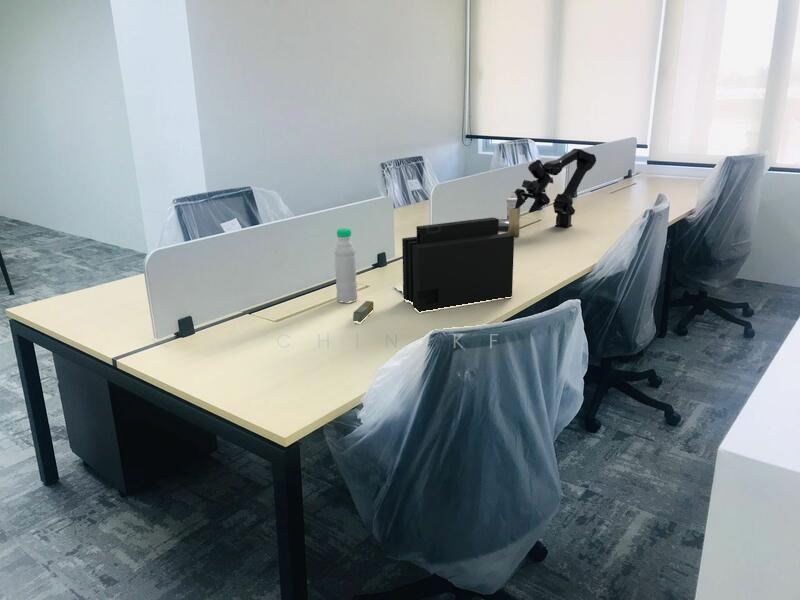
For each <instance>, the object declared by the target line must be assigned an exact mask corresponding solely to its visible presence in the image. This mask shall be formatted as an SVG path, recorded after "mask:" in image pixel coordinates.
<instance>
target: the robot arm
mask: <svg viewBox="0 0 800 600" xmlns="http://www.w3.org/2000/svg"><path fill="white" fill-rule="evenodd" d="M574 161H576V169H575V170H574V172H573V174H572V176H571V178H570V180H569V182H568V183H567V185H566V187H565V188H564V191H563V192H562V193H557V194H556V196H555V199H554V200H553V204H552V206H553V211H554V213H555V214H556V217H555V224H554V227H558V228H565V229H567V228H569V227H572V226H573V224H572V216H574V215H575V213H576V209H575V208H574V207H573V204H574V199H573V198H574V196H575V193H576V192H577V190H578V189H579V186H580V184H581V182H582V180H583V179H584V177H585V175H586V173H587V172H588V171H590V170H591V169H592V168H593V167H595V164H596V162H597V157H596V155H595V154H593V153H590V152H587V151H585V150H583V149H582V148H573V149H571V150H569V152H567V153H565V154H564V155H562V156H560V157H559V158H557V159H554V160H548V161H546V162H545V163H544V164H543V163H542V161H541V159H536V160H535V161H533V162H531V163H530V164H529V165H528V167H527V169H528V171H529V172H530V174H531V175H532V176H533V177H534V179H536V180H532V181H531V180H527V179H523V181H522V184H521V187H522V188H524V189H522V188H516V189H515V190H514V191H513V192H514V193H515V194H516V196H517V202H516V206H515V208H519V207H520V208H521V207H522V206H523V205H524V204H525V203H526V202H527V200H528V199H532V200H534V202H533V203H532V205H531V207H530V208H529V210H528V213H530V214H531V213H533V212H534V211H537V210H538V209H540V208H542V207H545V206H548V205H549V204H550V202H551V198H550V197H549V196H548V195H547V193H546V188H547V187H548V185H549V184H554V178H553V177H551V176H557V175H559V174H561V172H562V171H563V168H564V167H566V166H568V165H569V164H571V163H573V162H574ZM515 194H514V195H515Z"/></svg>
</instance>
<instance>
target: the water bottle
mask: <svg viewBox="0 0 800 600" xmlns="http://www.w3.org/2000/svg"><path fill="white" fill-rule="evenodd" d="M336 236H337V239H338V240H337V243H336V246H335V247H334V250H333V251H334V256H335V257H334V268H335V269H334V270H335V278H336V283H335V284H336V285H335V286H336V300H337V302H339V301H343V302H349V301H354V300H356V299H357V300H358V290H357V289H358V284H357V283H358V282H357V261H356V248H355V246H354V244H353V242H352V241H351V237H352V231H351V229H350V228H347V227H346V228H345V227H344V228H339V229H337V230H336ZM357 300H356V301H357Z"/></svg>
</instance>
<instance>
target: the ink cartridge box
mask: <svg viewBox="0 0 800 600" xmlns="http://www.w3.org/2000/svg"><path fill="white" fill-rule="evenodd" d="M510 192H511V194H510V195H511V198H508V199H506V202H507V219H509V209H510V208H515V206H516V202H517V196H516V194H515V193H514V192H515V191H510ZM519 209H520V210H521V206H520V207H519Z"/></svg>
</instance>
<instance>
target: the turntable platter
mask: <svg viewBox="0 0 800 600" xmlns="http://www.w3.org/2000/svg"><path fill="white" fill-rule="evenodd" d="M498 219H499V227H509V219H503V218H498Z"/></svg>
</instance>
